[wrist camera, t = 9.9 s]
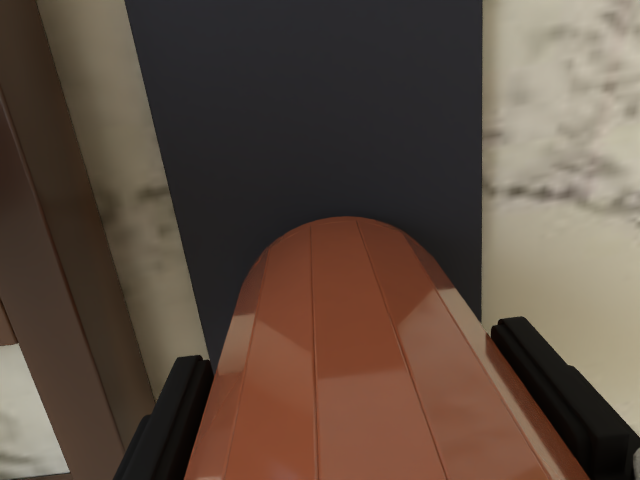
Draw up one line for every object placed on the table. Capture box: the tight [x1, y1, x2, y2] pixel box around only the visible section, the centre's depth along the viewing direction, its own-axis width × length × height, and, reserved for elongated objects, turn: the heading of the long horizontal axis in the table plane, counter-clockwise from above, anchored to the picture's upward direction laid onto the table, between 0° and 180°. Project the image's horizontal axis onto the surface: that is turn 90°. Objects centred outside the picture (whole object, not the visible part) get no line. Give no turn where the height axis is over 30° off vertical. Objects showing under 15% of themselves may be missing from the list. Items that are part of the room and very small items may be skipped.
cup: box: [184, 216, 590, 480], centre depth 10 cm, size 7×7×10 cm
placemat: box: [124, 0, 482, 376], centre depth 16 cm, size 20×10×1 cm, turn 7°
